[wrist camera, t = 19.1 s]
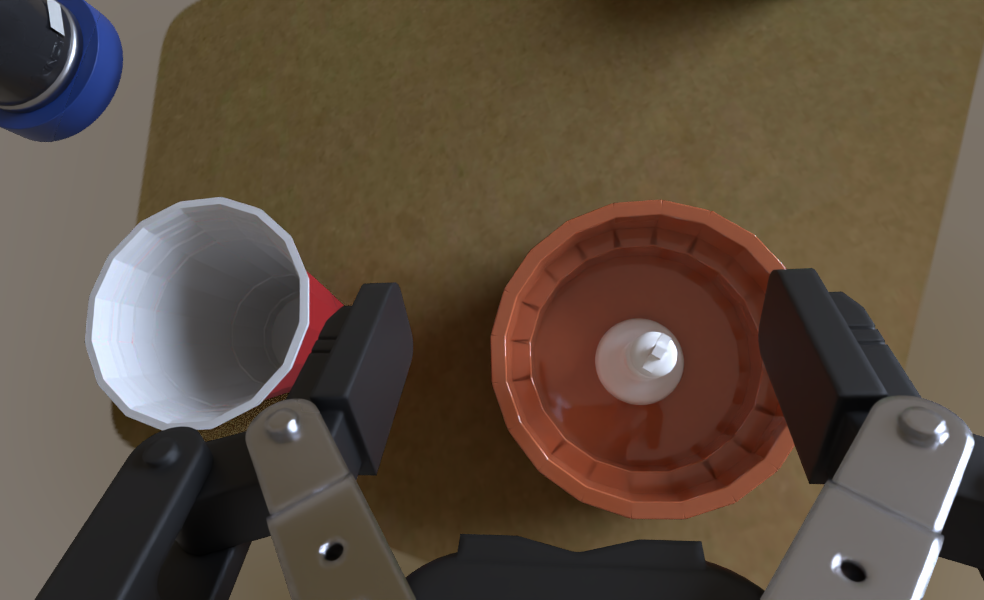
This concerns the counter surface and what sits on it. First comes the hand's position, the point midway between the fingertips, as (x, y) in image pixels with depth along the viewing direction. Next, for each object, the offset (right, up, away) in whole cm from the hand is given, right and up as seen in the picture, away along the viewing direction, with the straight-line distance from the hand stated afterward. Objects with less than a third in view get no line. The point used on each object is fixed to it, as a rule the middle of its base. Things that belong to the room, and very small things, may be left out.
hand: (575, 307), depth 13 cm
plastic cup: (-13, -2, +25) cm, 28 cm away
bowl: (+7, -3, +21) cm, 22 cm away
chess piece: (+7, -3, +21) cm, 22 cm away
